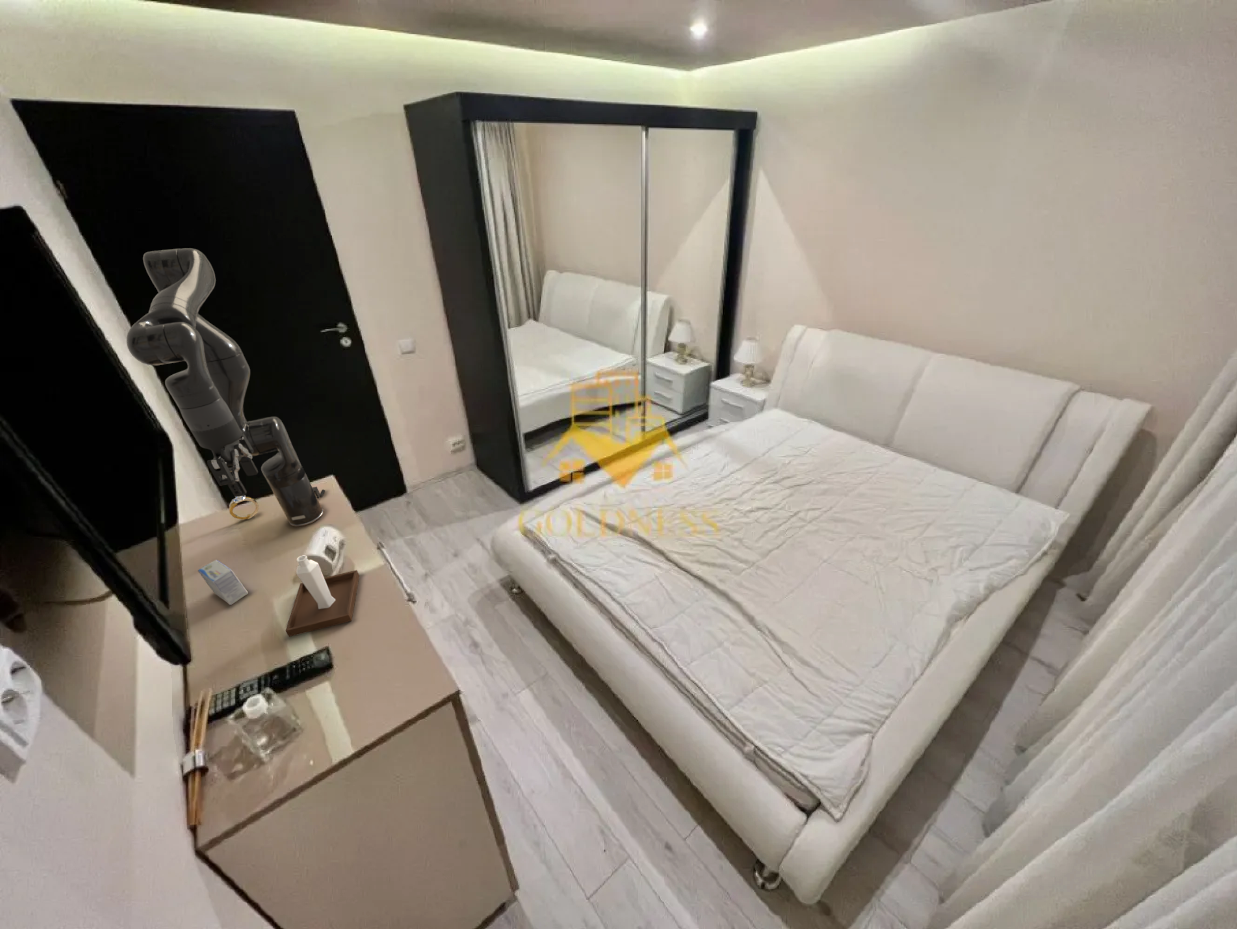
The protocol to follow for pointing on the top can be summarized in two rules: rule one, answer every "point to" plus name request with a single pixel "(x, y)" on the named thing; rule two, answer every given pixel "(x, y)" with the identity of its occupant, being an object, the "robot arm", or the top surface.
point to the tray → (312, 618)
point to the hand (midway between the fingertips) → (247, 484)
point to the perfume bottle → (314, 581)
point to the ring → (239, 499)
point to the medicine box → (223, 582)
